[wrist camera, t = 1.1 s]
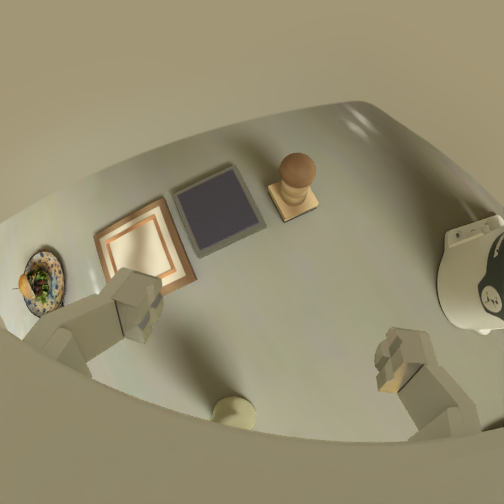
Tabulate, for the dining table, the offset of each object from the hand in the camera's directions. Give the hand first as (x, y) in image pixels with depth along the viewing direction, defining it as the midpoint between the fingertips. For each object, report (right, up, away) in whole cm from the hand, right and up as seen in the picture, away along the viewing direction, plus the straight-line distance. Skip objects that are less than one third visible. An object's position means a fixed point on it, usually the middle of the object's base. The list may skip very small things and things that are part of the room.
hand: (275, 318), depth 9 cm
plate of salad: (-37, -4, +31) cm, 48 cm away
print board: (-17, +1, +30) cm, 35 cm away
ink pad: (-5, +8, +31) cm, 32 cm away
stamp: (+5, +9, +31) cm, 32 cm away
